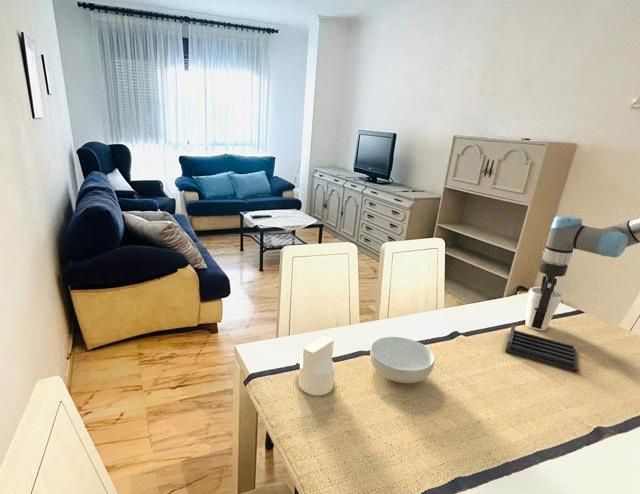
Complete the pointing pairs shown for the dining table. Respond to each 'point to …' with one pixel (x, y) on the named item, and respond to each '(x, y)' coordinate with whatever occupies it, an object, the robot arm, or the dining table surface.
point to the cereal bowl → (401, 359)
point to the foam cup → (534, 302)
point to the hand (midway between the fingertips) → (536, 322)
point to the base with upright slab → (317, 367)
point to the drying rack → (542, 350)
